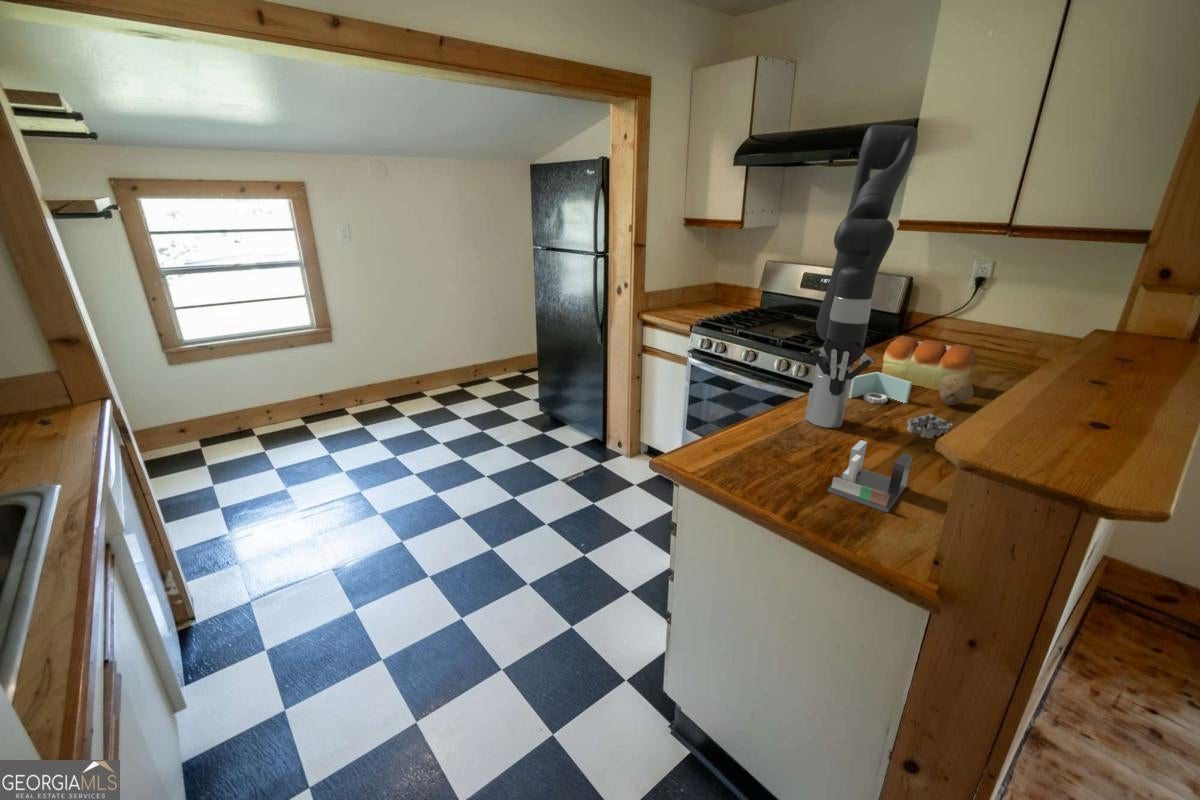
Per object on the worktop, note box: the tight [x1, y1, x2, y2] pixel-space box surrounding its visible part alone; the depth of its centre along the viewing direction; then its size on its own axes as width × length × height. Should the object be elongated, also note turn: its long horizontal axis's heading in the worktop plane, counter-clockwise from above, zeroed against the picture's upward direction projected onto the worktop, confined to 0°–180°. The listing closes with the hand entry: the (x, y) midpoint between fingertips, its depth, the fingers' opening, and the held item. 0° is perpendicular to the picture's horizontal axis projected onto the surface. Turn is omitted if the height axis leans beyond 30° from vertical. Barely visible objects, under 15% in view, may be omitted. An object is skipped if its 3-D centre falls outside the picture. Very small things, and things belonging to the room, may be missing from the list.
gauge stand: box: [827, 453, 914, 513], centre depth 113 cm, size 12×14×8 cm
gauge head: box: [842, 439, 868, 480], centre depth 115 cm, size 1×10×7 cm, turn 137°
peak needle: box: [847, 454, 861, 483], centre depth 111 cm, size 1×4×7 cm, turn 138°
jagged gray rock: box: [906, 412, 954, 439], centre depth 142 cm, size 11×8×4 cm
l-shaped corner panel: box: [848, 371, 912, 405], centre depth 164 cm, size 12×12×8 cm
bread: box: [881, 335, 977, 391], centre depth 178 cm, size 25×12×15 cm, turn 47°
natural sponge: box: [938, 374, 974, 406], centre depth 159 cm, size 9×9×10 cm
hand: (835, 394), depth 116 cm, fingers closed
